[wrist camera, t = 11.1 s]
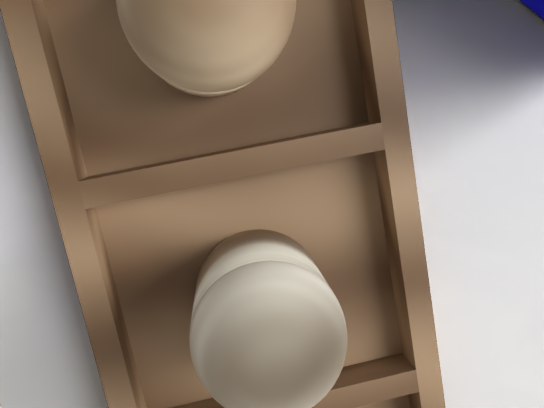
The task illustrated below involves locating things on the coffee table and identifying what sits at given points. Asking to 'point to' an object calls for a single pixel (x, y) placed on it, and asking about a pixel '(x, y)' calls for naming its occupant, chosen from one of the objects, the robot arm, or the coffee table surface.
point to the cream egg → (265, 324)
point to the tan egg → (207, 40)
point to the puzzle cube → (535, 6)
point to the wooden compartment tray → (231, 191)
